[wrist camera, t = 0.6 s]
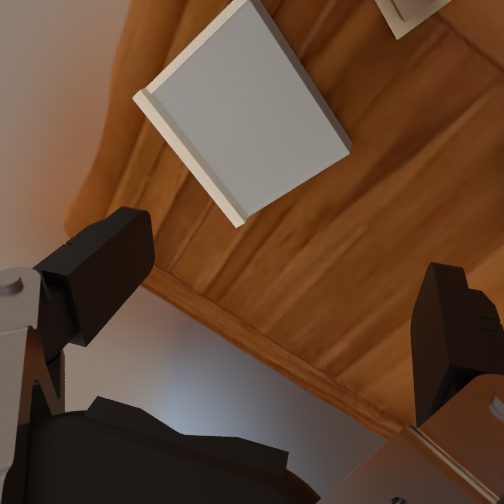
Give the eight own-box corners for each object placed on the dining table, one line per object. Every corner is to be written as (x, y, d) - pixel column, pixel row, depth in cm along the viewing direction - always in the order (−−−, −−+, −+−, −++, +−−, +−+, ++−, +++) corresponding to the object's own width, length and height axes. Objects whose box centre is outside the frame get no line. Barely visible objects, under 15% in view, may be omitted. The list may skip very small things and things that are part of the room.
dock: (255, -8, 29) (238, -10, 25) (352, 142, 32) (349, 158, 29) (156, 88, 34) (132, 98, 31) (248, 207, 38) (236, 228, 34)
